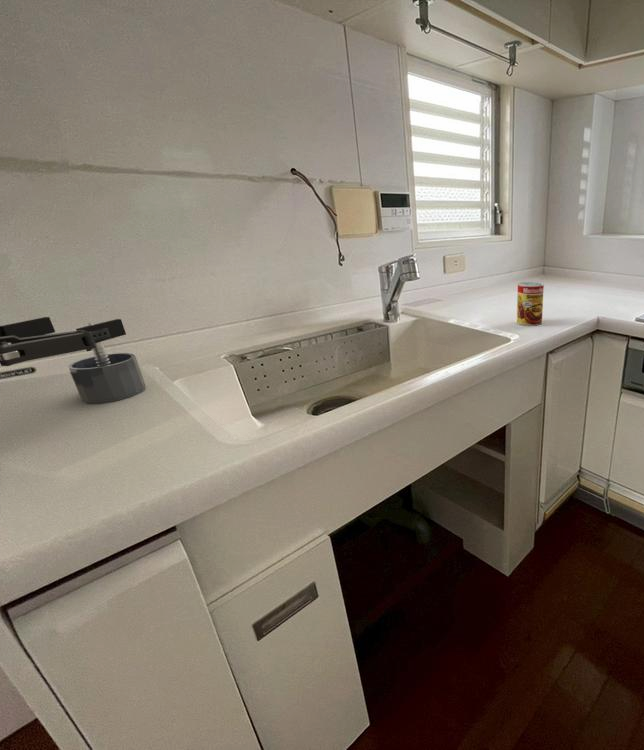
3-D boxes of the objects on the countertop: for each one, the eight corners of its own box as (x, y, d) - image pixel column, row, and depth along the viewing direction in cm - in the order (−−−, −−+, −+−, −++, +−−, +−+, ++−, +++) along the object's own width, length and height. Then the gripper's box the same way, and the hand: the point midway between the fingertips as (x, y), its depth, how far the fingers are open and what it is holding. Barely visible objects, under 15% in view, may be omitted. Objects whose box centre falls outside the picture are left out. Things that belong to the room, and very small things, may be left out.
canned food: (526, 327, 121) (528, 286, 117) (512, 321, 127) (512, 283, 123) (547, 323, 125) (549, 284, 120) (531, 318, 131) (533, 281, 127)
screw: (133, 384, 77) (128, 392, 74) (99, 389, 75) (93, 398, 71) (109, 318, 73) (103, 323, 69) (72, 321, 70) (64, 327, 66)
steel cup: (69, 400, 72) (54, 366, 69) (124, 382, 80) (112, 351, 77) (104, 406, 70) (90, 371, 67) (157, 387, 77) (146, 355, 75)
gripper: (-162, 392, 52) (30, 344, 72) (8, 400, 50) (158, 348, 70) (-199, 336, 49) (12, 302, 69) (-21, 342, 47) (144, 305, 67)
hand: (86, 325), depth 69 cm, fingers open, 13 cm apart
